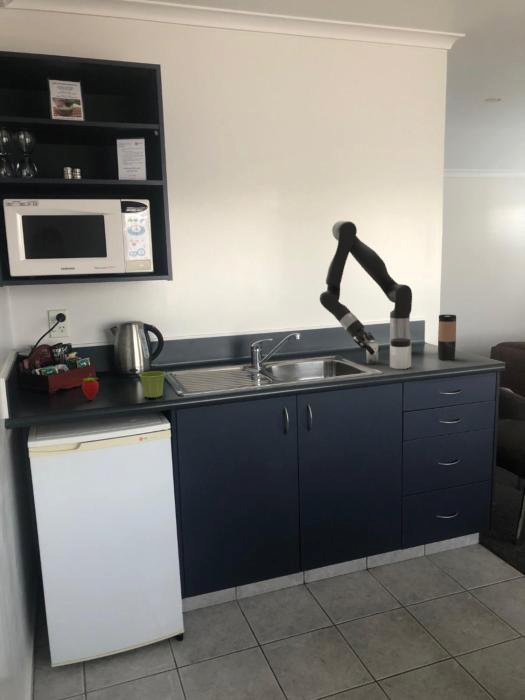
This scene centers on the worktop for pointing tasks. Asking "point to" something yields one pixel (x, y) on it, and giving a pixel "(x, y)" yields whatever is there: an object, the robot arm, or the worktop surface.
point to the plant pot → (152, 383)
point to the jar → (400, 353)
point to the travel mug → (446, 337)
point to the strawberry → (90, 387)
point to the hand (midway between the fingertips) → (376, 352)
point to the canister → (374, 358)
